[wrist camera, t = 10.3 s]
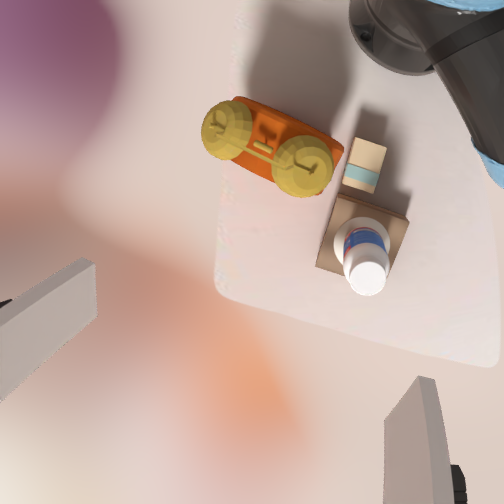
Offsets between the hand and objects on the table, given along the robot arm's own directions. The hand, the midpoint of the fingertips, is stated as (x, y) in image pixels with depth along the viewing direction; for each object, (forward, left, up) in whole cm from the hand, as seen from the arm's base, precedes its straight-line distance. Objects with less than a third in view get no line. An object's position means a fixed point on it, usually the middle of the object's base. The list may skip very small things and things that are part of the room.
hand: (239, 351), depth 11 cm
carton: (-5, +5, -35) cm, 36 cm away
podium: (+5, +8, -35) cm, 36 cm away
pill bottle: (+5, +8, -32) cm, 33 cm away
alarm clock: (-5, -5, -35) cm, 36 cm away
